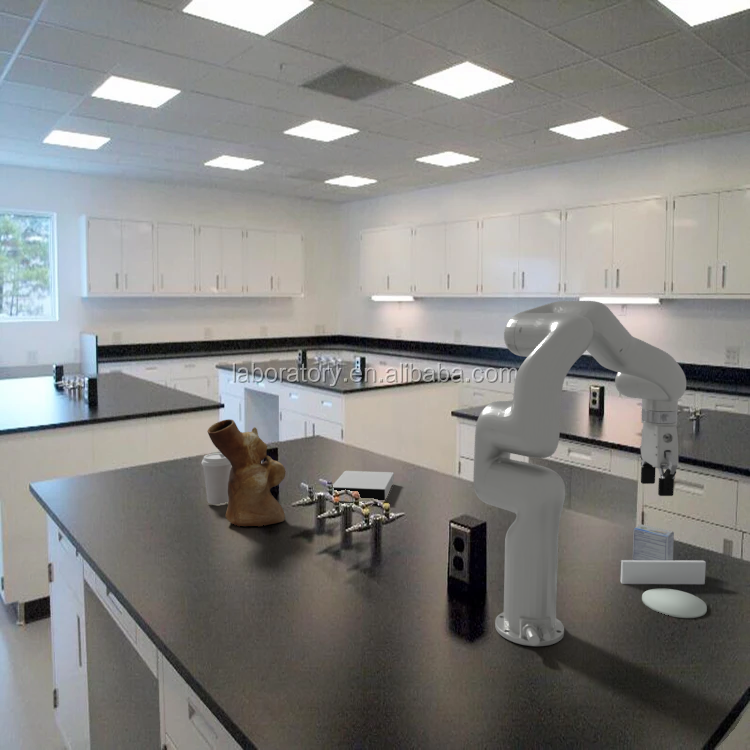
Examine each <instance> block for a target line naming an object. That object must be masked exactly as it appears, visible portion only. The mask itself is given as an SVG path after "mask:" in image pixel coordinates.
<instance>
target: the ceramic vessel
mask: <svg viewBox="0 0 750 750" xmlns="http://www.w3.org/2000/svg"><path fill="white" fill-rule="evenodd" d="M207 433H208V436H209V438H210V441H211V443H212V445H213V446H214V447H215V448H216V449H217V450H218V451H219V453H222V454H223V455H224V456H225V457H226V458H227V459H228V460H229V462H230V463H231V470H230V475H229V481H228V499H229V500H228V504H227V508H226V512H225V519H226V520H227V521H228V522H229V523H230V524H231V525H233V524H234V525H233V526H236V525H237V526H236V527H240V526H258V527H264V526H268V525H273V524H278V523H281V522H284V521H285V520H286V515H285V511H284V508H283V507H282V505H281V504H280V502H279V501H278V500H277V499H276V498H275V497H274V496H273V495H272V493H271V489H272V488H273V487H277V486H278V485H280V484H281V483H282V482H283V480H284V479H285V478H286V467H284V465H283V464H282V463H281V462H279V461H278V460H274V459H272V457H271V456H269V455H267V450H268V445H267V443H266V442H264V441H263V440H262V439H261V438H260V437H259V432H258V429H257V427H253V428H252V430H251V431H246V432H242V431H241V430H239V428H238V425H237V424H236V422H235V421H234V420H233V419H224V420H220V421H217V422H215V423H213V424H212V425H210V426H209V428H208V429H207ZM263 460H265V461H264V462H263ZM263 525H264V526H263Z"/></svg>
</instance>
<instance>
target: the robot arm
mask: <svg viewBox="0 0 750 750" xmlns="http://www.w3.org/2000/svg"><path fill="white" fill-rule="evenodd" d="M503 340H504V344H505V346H506V349H508V351H510V352H511V353H512V354H514V355H516V356H519V357H526V358H525V359H524V361H523V362H522V363H521V365H520V366H519V369H518V370H517V372H516V374H515V378H514V386H513V398H512V401H493V402H490V403H489V404H487V405H485V407H484V408H483V409H482V410H481V411H480V414H479V416H478V418H477V421H476V424H475V432H474V446H473V447H474V450H473V451H474V452H473V454H474V455H473V489H474V492H475V495H476V496H477V498H478V499H479V500H480V501H481V502H483V503H485V504H487V505H489V506H492V507H495V508H499V509H500V510H501V509H502V510H505V511H509V512H511V513H513V514H516V515H515V516H516V517H515V519H514V521H513V522H512V523H511V525H510V526H509V528H508V529H507V531H506V534H505V540H504V580H503V583H504V584H503V585H504V586H503V587H504V588H503V611H502V612H501V613H499V614H498V615H497V616H496V617H495V622H494V623H495V624H494V626H495V629H496V632H497V633H498V634H499V635H500V636H501V637H503V638H504V639H506V640H508V641H509V642H513V643H515V644H518V645H522V646H528V647H547V646H551V645H553V644H557V643H559V641H561V640H562V639H563V638H564V635H565V627H564V624H563V623H562V621H561V620H559V619H558V618H557V587H558V586H557V585H558V582H557V581H558V559H559V558H558V555H559V553H558V551H559V550H558V548H559V533H560V531H559V530H560V521H561V515H562V512H563V507H564V504H565V499H566V485H565V482H564V479H563V478H562V477H561V476H560V474H559V473H557V472H556V471H555V470H553V469H551V468H549V467H547V466H543V465H540V464H536V463H531V462H527V461H521V460H520V461H519V460H516V459H512V458H511V454H513V455H518V456H522V457H527V458H532V459H533V458H534V459H547V458H549V457H552V456H553V455H554V454H555V453H556V452H557V448H558V446H559V441H560V432H561V415H562V414H561V413H562V410H561V409H562V397H563V395H562V394H563V387H564V383H565V379H566V378H567V375H568V373H569V371H570V369H571V368H572V367H573V366H574V364H575V363H576V362H577V361H578V360H579V358H581V357H582V355H584V353H586V351H587V352H588V354H589V355H591V357H592V358H594V360H595V361H596V362H597V363H598V364H599V365H600V366H602V367H603V368H605V369H608V370H609V371H613V372H616V376H615V378H614V383H615V385H614V386H615V388H616V390H617V391H618V393H620V394H621V395H622V396H624V397H627V398H632V399H640V400H641V401H642V402H641V423H642V424H643V425H642V430H641V432H642V433H641V442H640V444H641V445H640V447H639V449H640V456H639V457H640V459H641V461H640V467H641V468H640V483H641V484H642V485H644V484H645V485H652V484H655V483H656V469H658V472H659V476H660V477H658V488H657V490H658V491H657V494H658V496H659V497H673V496H674V489H675V486H674V485H675V479H676V474H677V468H678V466H679V438H678V437H679V436H678V430H677V429H678V427H677V425H678V412H679V411H678V409H679V406H678V405H679V399H680V400H681V398H682V397H683V396H684V395H685V392H686V389H687V378H686V374H685V372H684V370H683V369H682V367H681V366H680V364H679V363H678V362H677V361H676V359H675V358H674V357H673V356H672V355H671V354H669V353H668V352H666V351H664V350H662V349H660V348H658V347H656V346H655V345H652V344H650V343H648V342H646V341H644V340H641V339H640V338H637V337H635V336H633V335H632V334H631V333H630V332H629V331H628V329H627V328H626V327H625V326H624V325H623V324H622V322H621V321H620V320H619V319H618V318H617V316H616V315H615V314H614V313H613V311H611V309H610V308H609V307H608V306H607V305H605V304H604V303H602V302H600V301H595V300H562V301H561V300H560V301H559V300H558V301H554V302H553V301H552V302H550V303H547V304H542V305H539V306H537V307H533V308H530V309H527V310H524V311H521V312H517V313H515V314H514V315H513V316H512V317H511V318H510V319H509V320H508V321H507V323H506V325H505V328H504V331H503ZM664 470H665V471H664Z"/></svg>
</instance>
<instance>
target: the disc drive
mask: <svg viewBox="0 0 750 750" xmlns="http://www.w3.org/2000/svg"><path fill="white" fill-rule="evenodd" d="M394 475H395V473H394V472H393V471H392V472H390V471H365V470H363V471H361V470H344V471H343V472H342V474H341V475H340V476H339V477H338V479H336V480H335V482H334V483H333V484H332V485H333V488H334V490H337V491H341V490H345V489H346V490H350V491H358V492H359V494H360V497H361V498H374V499H378V500H385V497H386V495H387V493H388V491H389V489H390V487H391V485H392V483H393V481H394V480H395V477H394Z"/></svg>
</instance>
